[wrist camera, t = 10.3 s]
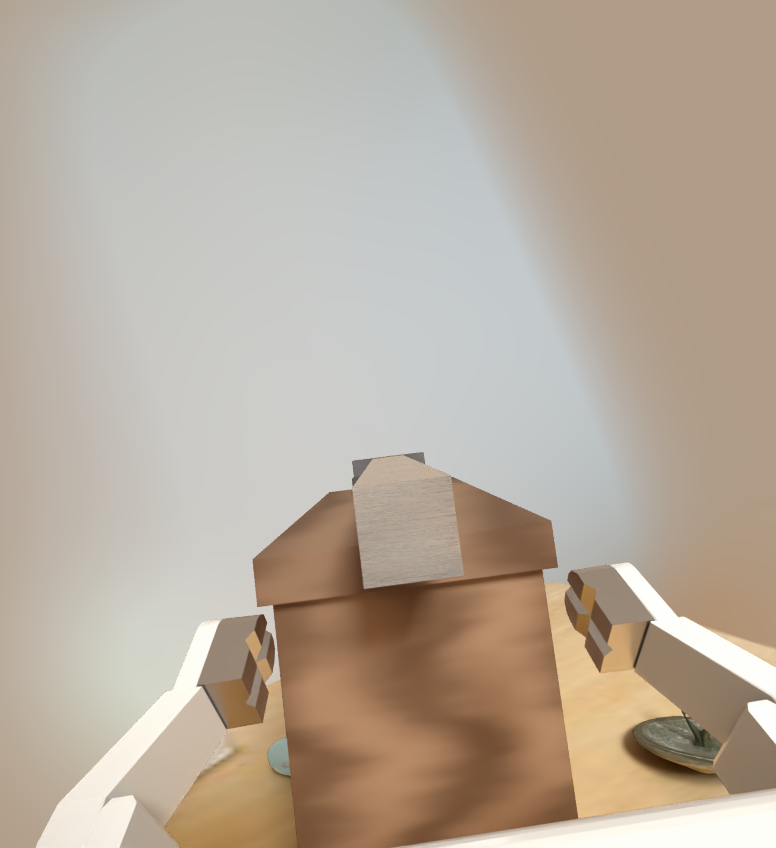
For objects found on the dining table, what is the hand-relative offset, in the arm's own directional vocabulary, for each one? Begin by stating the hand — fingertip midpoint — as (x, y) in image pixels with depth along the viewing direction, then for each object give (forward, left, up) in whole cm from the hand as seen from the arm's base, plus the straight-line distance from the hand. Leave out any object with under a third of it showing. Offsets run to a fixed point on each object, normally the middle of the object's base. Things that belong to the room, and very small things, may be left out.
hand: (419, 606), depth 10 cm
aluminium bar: (0, +14, 0) cm, 14 cm away
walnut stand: (0, +18, -26) cm, 31 cm away
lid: (+24, +23, -26) cm, 42 cm away
